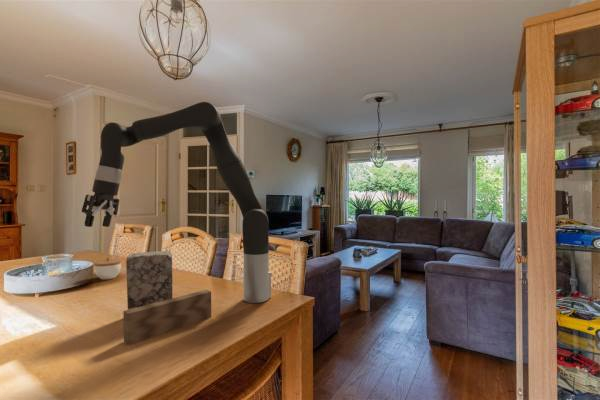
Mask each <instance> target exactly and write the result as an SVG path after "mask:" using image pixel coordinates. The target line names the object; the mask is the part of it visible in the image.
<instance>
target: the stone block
mask: <svg viewBox="0 0 600 400" xmlns="http://www.w3.org/2000/svg"><path fill="white" fill-rule="evenodd" d="M125 260H126V262H125V263H126V265H125V266H126V268H125V269H126V271H125V272H126V293H127V294H126V295H127V296H126V297H127V310H130V309H133V308H137V307H141V306H145V305H149V304H153V303H156V302H160V301H164V300H168V299H172V298H173V283H174V282H173V253H172V252H171V251H170V250H165V251H164V250H163V251H162V250H160V251H159V250H158V251H157V250H155V251H146V252H136V253H135V252H134V253H131V254H129V255H128V256H127V257H126V259H125Z"/></svg>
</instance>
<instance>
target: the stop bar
mask: <svg viewBox="0 0 600 400" xmlns="http://www.w3.org/2000/svg"><path fill="white" fill-rule="evenodd" d="M122 312H123V314H122V315H123V342H124V344H126V345H127V346H131V345H132V344H135V343H138V342H141V341H144V340H147V339H150V338H153V337H156V336H159V335H162V334H165V333H168V332H170V331H174V330H177V329H180V328H183V327H186V326H189V325H191V324H195V323H198V322H200V321H203V320H206V319H208V318H209V319H210V318H212V291H211V290H208V289H203V290H199V291H196V292H192V293H189V294H185V295H184V294H183V295H181V296H176V297H174V298H173V297H172V299H168V300H164V301H160V302H156V303H153V304H149V305H145V306H141V307H137V308H133V309H130V310H128V309H126V310H123V311H122Z"/></svg>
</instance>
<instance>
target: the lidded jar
mask: <svg viewBox="0 0 600 400" xmlns="http://www.w3.org/2000/svg"><path fill="white" fill-rule="evenodd" d="M121 269H122V260H121V259H117V258H112V259H110V257H106V259H102V260H98V261H95V262H94V271H95V274H96V276H97V277H98V278H99V279H100V280H111V279H115V278H116V277H117V275H119V273H120V271H121Z"/></svg>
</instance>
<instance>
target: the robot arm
mask: <svg viewBox="0 0 600 400" xmlns="http://www.w3.org/2000/svg"><path fill="white" fill-rule="evenodd" d="M194 127H195V128H196V127H198V128H199V129H200V130H201V132H202V133H203V135H204V137H205V138H206V140H207V142H208V144H209V146H210V149H211V151H212V156H213V159H214V160H213V161H214V163H215V166H216V168H217V170H218V173H219V175H220V178H221V179H222V181H223V183H224V185H225V187H226V188H227V189H228V191H229V192H230V194H231V196H232V197H233V198H234V200H235V201H236V203H237V204H238V207H239V209H240V212H241V215H242V223H241V224H242V249H243V301H244V302H246V303H250V304H258V303H264V302H266V301H268V300H269V299H270V298H272V273H271V271H270V261H269V259H270V254H269V253H270V252H269V250H270V247H269V246H270V243H269V241H270V240H269V234H270V233H269V230H270V229H269V228H270V227H269V222H270V221H269V216H268V214H267V212H266V211H265V210H264V208H263V207H262V205H261V203H260V201H259V200H258V198H257V196H256V194H255V191H254V188H253V185H252V183H251V180H250V177H249V175H248V172H247V170H246V168H245V165H244V163H243V161H242V159H241V158H240V155H239V154H238V152H237V150H236V148H235V147H234V145H233V144H232V142H231V141H230V138H229V136H228V134H227V131H226V129H225V126H224V123H223V120H222V117H221V114H220V111H219V110H218V109H217V108H216V107H215V105H214V104H212V103H211V102H207V101H201V102H198V103H194V104H191V105H190V106H187V107H184V108H182V109H179V110H176V111H172V112H169V113H164V114H162V115H158V116H152V117H148V118H143V119H138V120H135V121H133V122H132V124H131V126H127V127H124V126H122V125H121V124H120V123H117V122H109V123H106V124H105V125H104V126H103V128H102V130H101V134H100V150H101V152H100V153H101V155H100V159H99V163H98V166H97V169H96V172H95V176H94V179H93V184H92V189H91V190H92V192H93V193H94V194H86V195H85V196H84V201H83V204H82V208H81V213H83V214H85V220H84V227H87V228H92V227H93V225H94V220H95V215H96V214H97V213H98V212H99V211H101V210H102V211H103V212H104V216H103V220H102V227H106V228H110V226H111V221H112V217H114V216H117V215H118V211H119V205H120V199H119V198H114V197H115V196H118V194H119V189H120V184H121V182H122V181H121V179H122V172H123V168H124V163H125V155H124V154H123V153H122V152H121V151H122V148H125V147H130V146H131V147H132V146H134V145H136V144H139V143H141V142H143V141H147V140H152V139H156V138H160V137H163V136H166V135H168V134H171V133H173V132H175V131H177V130H178V131H179V130H182V129H185V128H194Z"/></svg>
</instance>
